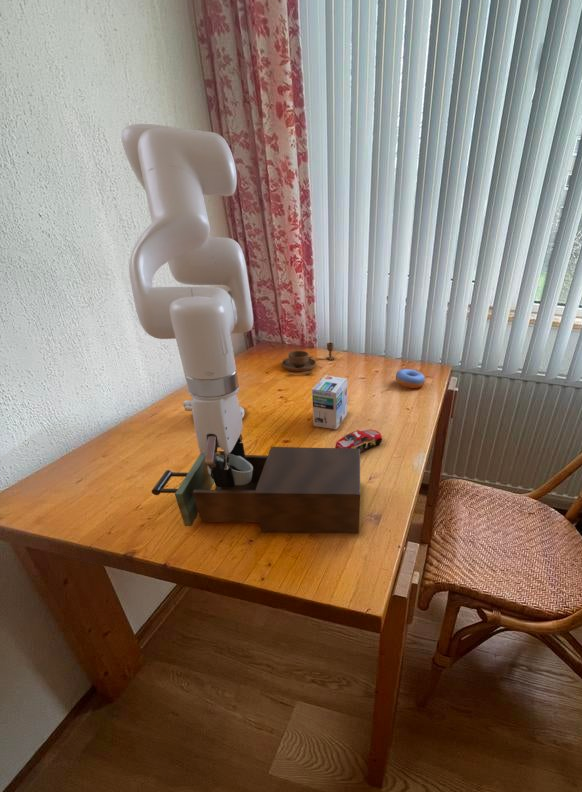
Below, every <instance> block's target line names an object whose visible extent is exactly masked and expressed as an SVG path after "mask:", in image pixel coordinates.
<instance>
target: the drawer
mask: <svg viewBox="0 0 582 792" xmlns="http://www.w3.org/2000/svg"><path fill="white" fill-rule="evenodd" d="M205 457H206V454H201V453H200V452H199V454H198V457H196V460H195V461H194V463H193V464H192V465H191V468H190V469H189V470H188V472H178V471H177V472H175V471H174V472H173V471H172V470H171V469H167V470H165V471H164V473H163V474H162V475H161V477H160V478H159V480H158V481H157V483H156V484H155V485H154V486H153V487H152V489H151V494H152V495H154V496H159V495H160V494H174V496H175V499H176V502H177V503H176V504H177V506H178V509H179V512H180V515H181V518H182V521H183V525H184V527H192V526H193V525H194V523H195V521H196V519H197V517H198V516H199V520H200V522H201V523H259V518H258V512H257V506H256V500H255V494H254V493H255V490H256V487H257V484H258V482H259V479H260V476H261V473H262V471H263V468H264V465H265V462H266V460H267V457H268V455H267V454H266V455H264V454H263V455H262V454H261V455H260V454H245V457H246V460H247V461H248V462H249V463H251V465H252V466H253V472H252V479H251V481H250V482H249V483H248V484H245V485H234V486H233V487H217V486H216V485H215V482H214V480H213V478H212V477H211V475H210V474H209V473H208V465H207V464H206V463H205ZM229 466H230V467H232V470H236V471H240V472H243V471H241V470H239V469H237V468H235V467H234V466H232V465H229ZM172 477H175V478H176V477H177V478H179V477H180V478H181V477H183V478H184V479H183V480H182V481H181V484H180V485H179V486H178V488H165V487H166V486H167V484H168V482H169V481H170V480H171V479H172ZM214 485H215V488H214V489H212V488H213V486H214Z"/></svg>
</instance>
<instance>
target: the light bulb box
mask: <svg viewBox="0 0 582 792" xmlns="http://www.w3.org/2000/svg"><path fill="white" fill-rule="evenodd" d="M311 397H312V399H311V400H312V414H313V415H312V416H313V417H312V418H313V427H317V428H323V429H330V430H338V428H339V427H340V425H341V424H342V422H343V421H344V419H345V418H346V417H347V415H348V378H346V377H345V378H344V377H338V376H332V375H324V376H323V377H322V378H321V379H320V380H319V381H318V382H317V383H316V384H315V385H314V387H313V388H311Z"/></svg>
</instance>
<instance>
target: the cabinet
mask: <svg viewBox="0 0 582 792" xmlns="http://www.w3.org/2000/svg"><path fill="white" fill-rule="evenodd" d="M254 494H255V500H256V506H257V512H258V518H259V522H258V524H259V528H260V533H261V534H360V516H361V515H360V513H361V452H360V449H352V448H335V447H304V446H302V447H301V446H300V447H299V446H270V448H269V452H268V457H267V460H266V462H265V465H264V468H263V471H262V473H261V476H260V479H259V482H258V484H257V487H256V490H255V493H254Z"/></svg>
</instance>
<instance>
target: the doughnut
mask: <svg viewBox="0 0 582 792" xmlns="http://www.w3.org/2000/svg"><path fill="white" fill-rule="evenodd" d="M395 381H396V382H397V384H399V385H401V386H402V387H405V388H409V389H418V388H421V387H422V386H423V385H424V384H425V381H426V378H425V375H424V374H423V373H421V372H420V371H418V370H415V369H410V368H401V369H399V370H398V371H396V373H395Z"/></svg>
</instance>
